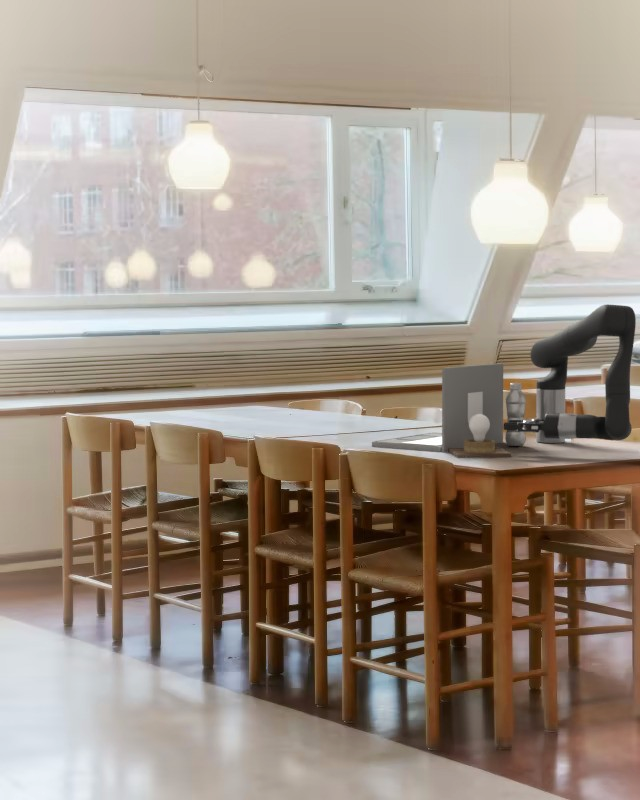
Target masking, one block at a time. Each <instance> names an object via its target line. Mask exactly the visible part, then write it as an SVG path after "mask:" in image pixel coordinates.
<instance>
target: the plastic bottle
mask: <svg viewBox="0 0 640 800" xmlns="http://www.w3.org/2000/svg"><path fill="white" fill-rule="evenodd" d="M522 386H523V385H522V383H521V382H510V384H509V389H510V391H509V393H508V394H507V396H506V398H505V404H506V405H505V406H506V407H505V408H506V416H507V419H506V420H507V421H506V422H509V420H521V421H522V420H523V419H525V411H526V405H527V399H526V396H525V394H524V393H523V391H522V389H523V387H522ZM522 429H523V428H522ZM526 441H527V436H526V432H519V431H517V430H506V432H505V443H506V445H507V446H509V447H513V446H515V448H517V447H516V446H518V447H523V446H524V445H525V444H526Z"/></svg>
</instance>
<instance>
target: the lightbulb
mask: <svg viewBox="0 0 640 800" xmlns="http://www.w3.org/2000/svg"><path fill="white" fill-rule="evenodd" d="M489 428H490V421H489V419H488V418H487V417H486V416H485V415H483V414H476V415H474V416H472V417H471V419H470V420H469V429H470V431H471V432H472V434H473V437H474V440H475V442H484V439H485V435H486V433H487V432H488V430H489Z"/></svg>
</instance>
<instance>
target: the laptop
mask: <svg viewBox="0 0 640 800" xmlns="http://www.w3.org/2000/svg"><path fill="white" fill-rule="evenodd" d="M441 373H442V374H441V401H442V402H441V432H429V433H422V434H416V435H408V436H402V437H395V438H390V439H389V438H388V439H387V438H386V439H381V440H373V441H372V442H371V447H374V448H384V449H385V448H386V449H387V448H388V449H397V450H398V449H400V450H409V451H410V450H411V451H423V452H424V451H425V452H435V453H436V452H437V453H447V451H449V448H464V440H470V439H474V437H473V434H472V432H471V431H470V429H469V420H470V419H471V417H472V416H474V415H476V414H483V415H485V416H486V417H487V418H488V419H489V421H490V428H489V430H488V432H487V433H486V435H485V439H488V440H494V441H495V443H496V444H501V443H500V442H502V443H504V363H503V362H501V363H489V364H478V365H477V364H475V365H465V366H464V365H463V366H453V367H452V366H449V367H441Z"/></svg>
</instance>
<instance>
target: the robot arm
mask: <svg viewBox="0 0 640 800" xmlns="http://www.w3.org/2000/svg"><path fill="white" fill-rule="evenodd" d="M636 321H637V319H636V313H635V311H634V309H633V307H632V306H629V305H621V304H602V305H600V306H599V307H597V308H596V309H595V310H594V311H592V312H591V313H589V314H588V315H587V316H586V317H584V318H581V319H580V320H578V321H576V322H574V323H572V324H571V325H568V326H566V328H564V329H561V330H560V331H558V332H556V333H554V334H552V335H551V336H548V337H545V338H542V339H539V340H537V341H536V342H534V344H532V347H531V350H530V355H529V356H530V360H531V362H532V364H533V365H534V366H536V368H539V369H550V371H549V373H548V374H547V375H546V376H544V377H541V378H539V379H537V380H536V406H535V407H536V408H535V409H536V413H535V415H536V417H535V418H526V419H525V418H524V419H523V420H522V421H521V420H509V422H507V421H506V422H505V421H504V422H503V431H504V430H505V431H507V430H517V431H519V432H525V433H532V434H533V433H535V434H536V435H535V437H536V438H535V439H536V440H535V441H536V442H537V443H547V444H554V443H555V444H557V443H559V444H561V443H565V442H566V440H571V439H587V440H588V439H599V440H606V441H607V440H608V441H622V440H626V439H627V438H628V437H629V436H630V435H631V433H632V428H633V427H632V424H631V421H630V403H631V380H630V379H631V365H632V357H633V351H634V343H635V336H636V335H635V333H636V325H637V323H636ZM602 336H603V337H604V336H605V337H606V336H607V337H618V339H619V341H618V342H619V345H618V350H617V353H616V356H615V357H614V359H613V361H612V363H611V364H610V367H609V368H608V370H607V373H606V376H605V382H604V383H605V387H604V388H605V393H604V394H605V404H606V405H605V416H597V415H595V414H594V415H592V414H576V413H575V414H574V413H567V412H566V383H567V380H568V363H569V357H572V356H576V355H580V354H582V353H584V352H587V351H588V350H590V349H592V348H594V346H595V345H596V343H597V341H598V337H602ZM522 428H523V429H522Z"/></svg>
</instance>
